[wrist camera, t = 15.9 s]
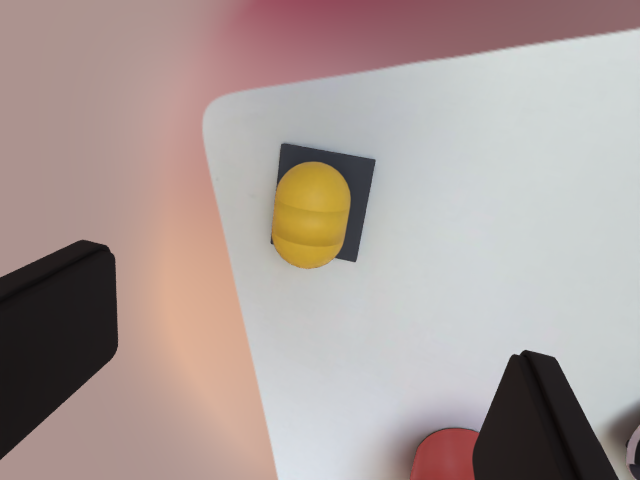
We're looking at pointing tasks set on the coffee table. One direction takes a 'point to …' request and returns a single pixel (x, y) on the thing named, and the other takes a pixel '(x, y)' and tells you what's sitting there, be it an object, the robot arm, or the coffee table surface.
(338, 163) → the mat
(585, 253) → the coffee table surface
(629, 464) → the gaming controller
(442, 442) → the flower pot
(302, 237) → the yellow grooved capsule
